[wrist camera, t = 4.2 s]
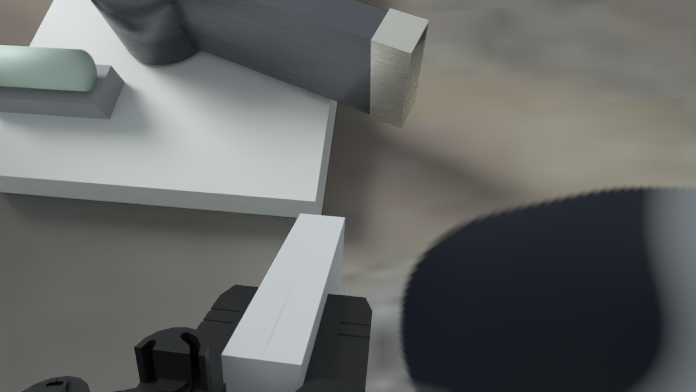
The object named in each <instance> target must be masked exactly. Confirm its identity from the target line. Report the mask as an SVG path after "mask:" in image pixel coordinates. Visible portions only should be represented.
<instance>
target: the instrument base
mask: <svg viewBox="0 0 696 392" xmlns="http://www.w3.org/2000/svg"><path fill="white" fill-rule="evenodd" d="M336 108H337V102H336V101H333V100H331V99H328V98H326V97H323V96H320V95H318V94H315V93H312V92H310V91H307V90H305V89H302V88H299V87H297V86H294V85H291V84H289V83H286V82H284V81H281V80H278V79H276V78H273V77H270V76H268V75H265V74H263V73H260V72H257V71H255V70H252V69H249V68H247V67H244V66H241V65H239V64H236V63H234V62H231V61H228V60H226V59H223V58H220V57H218V56H215V55H213V54H210V53H207V52H205V51H202V50H200V51H199V52H198V53H196V54H195V55H193V56H192V57H190V58H188V59H186V60H183V61H181V62H178V63H174V64H168V65H152V64H147V63H144V62H141V61H139V60H137V59H136V58H134V57H133V56H132V55H131V54H130V53H129V52H128V50H127V49H126V48H125V46H124V45H123V44H122V42H121V41H120V39H119V38H118V37H117V35H116V34H115V33H114V31H113V30H112V29H111V27H110V26H109V25H108V23H107V22H106V20H105V19H104V18H103V16H102V15H101V14H100V12H99V11H98V10H97V8H96V7H95V6H94V4H93V3H92V1H91V0H54V1H53V3H52V5H51V7H50V9H49V10H48V12H47V14H46V16H45V18H44V20H43V22H42V24H41V25H40V27H39V29H38V31H37V33H36V35H35V37H34V39H33V40H32V42H31V44H30V46H29V47H26V46H8V45H0V192H4V193H15V194H27V195H39V196H50V197H62V198H74V199H85V200H97V201H109V202H120V203H132V204H143V205H155V206H167V207H178V208H190V209H202V210H213V211H225V212H237V213H248V214H260V215H271V216H283V217H295V218H298V217H299V215H300V213H302V214H313V215H321V214H322V207H323V200H324V193H325V186H326V179H327V172H328V165H329V158H330V151H331V143H332V136H333V129H334V122H335V115H336Z"/></svg>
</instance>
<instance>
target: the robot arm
mask: <svg viewBox="0 0 696 392" xmlns="http://www.w3.org/2000/svg"><path fill="white" fill-rule="evenodd" d="M344 229H345V217H335V216H324V215H313V214H302V213H300V215H299V217H298V218H297V220H296V222H295V224H294V226H293V227H292V229H291V231H290V233H289V235H288V236H287V238H286V240H285V242H284V243H283V245H282V247H281V249H280V251H279V252H278V254H277V256H276V258H275V260H274V261H273V263H272V265H271V267H270V269H269V270H268V272H267V274H266V276H265V277H264V279H263V281H262V283H261V285H260V286H259V287H251V286H242V285H234V286H233V287H231V288H230V289H229V290H227V291H226V292H224V293H223V294H221V295H220V296H219V298H218V299H217V301H216V302H215V303H214V305H213V306H212V308H211V311H209V312H208V314H207V315H206V316H205V318H204V321H203V322H201V324H200V325H199V327H198V328H197V329H196V330H194V329H191V328H187V327H180V328H169V329H165V330H161V331H158V332H156V333H154V334H152V335H150V336H148V337H146V338H144V339H143V340H142V341H141V342H140V343H139V344H137V345H136V346H135V347H134V348H135V354H136V360H137V366H138V371H139V377H140V383H139V385H138V386H137V387H136V388H133V389H128V390H123V391H116V392H365V385H366V374H367V364H368V353H369V341H370V330H371V318H372V310H371V308H370V306H369V304H368V302H367V300H366V298H363V297H354V296H345V295H340V292H341V287H342V267H343V248H344ZM22 392H90V391H89V387H88V384H87V383H86V382H84V381H83V380H82V379H81V378H77V377H71V376H64V377H56V378H51V379H48V380H45V381H42V382H39V383H37V384H34V385H33V386H31V387H29V388H28V389H26V390H24V391H22Z"/></svg>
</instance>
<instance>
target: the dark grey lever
mask: <svg viewBox="0 0 696 392" xmlns="http://www.w3.org/2000/svg"><path fill="white" fill-rule="evenodd" d="M91 1H92V3H93V4H94V6H95V7H96V8H97V10H98V11H99V12H100V14H101V15H102V16H103V18H104V19H105V20H106V22H107V23H108V25H109V26H110V27H111V29H112V30H113V31H114V33H115V34H116V35H117V37H118V38H119V39H120V41H121V42H122V44H123V45H124V46H125V48H126V49H127V50H128V52H129V53H130V54H131V55H132V56H133V57H134V58H136V59H137V60H139V61H141V62H144V63H147V64H152V65H168V64H174V63H178V62H181V61H183V60H186V59H188V58H190V57H192V56H193V55H195V54H196V53H198V52H199V51H200V50H202V51H205V52H207V53H210V54H213V55H215V56H218V57H220V58H223V59H226V60H228V61H231V62H234V63H236V64H239V65H241V66H244V67H247V68H249V69H252V70H255V71H257V72H260V73H263V74H265V75H268V76H270V77H273V78H276V79H278V80H281V81H284V82H286V83H289V84H291V85H294V86H297V87H299V88H302V89H305V90H307V91H310V92H312V93H315V94H318V95H320V96H323V97H326V98H328V99H331V100H333V101H336V102H339V103H341V104H344V105H347V106H349V107H352V108H354V109H357V110H360V111H362V112H365V113H368V114H370V117H372V118H374V119H377V120H379V121H382V122H385V123H387V124H390V125H393V126H395V127H398V128H400V129H401V127H402V125H403V123H404V121H405V119H406V117H407V115H408V113H409V111H410V109H411V107H412V106H413V104H414V102H415V97H416V92H417V86H418V80H419V75H420V69H421V63H422V57H423V52H424V46H425V40H426V35H427V29H428V23H429V20H426V19H423V18H420V17H417V16H413V15H410V14H407V13H404V12H401V11H398V10H394V9H391V8H390V9H389V11H387V10H384V9H381V8H378V7H374V6H371V5H368V4H365V3H362V2H359V1H356V0H91Z"/></svg>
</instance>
